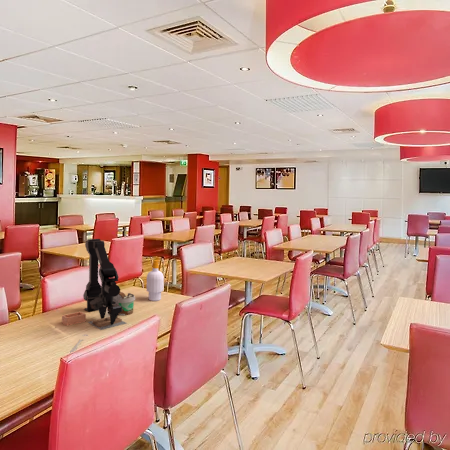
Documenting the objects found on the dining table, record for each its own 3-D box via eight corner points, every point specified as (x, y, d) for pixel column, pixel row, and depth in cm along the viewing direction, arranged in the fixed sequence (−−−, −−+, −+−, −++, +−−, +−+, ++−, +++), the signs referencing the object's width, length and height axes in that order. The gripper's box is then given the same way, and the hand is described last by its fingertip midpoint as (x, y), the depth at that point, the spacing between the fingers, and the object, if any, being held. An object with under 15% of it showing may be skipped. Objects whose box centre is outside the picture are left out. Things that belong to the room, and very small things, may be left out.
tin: (127, 307, 225) (127, 292, 224) (123, 308, 222) (123, 294, 221) (109, 302, 233) (109, 288, 232) (105, 303, 230) (105, 289, 229)
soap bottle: (157, 302, 235) (158, 262, 233) (142, 300, 239) (143, 261, 236) (166, 298, 245) (167, 259, 242) (151, 296, 248) (152, 258, 246)
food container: (129, 318, 206) (129, 300, 205) (118, 317, 207) (118, 298, 206) (138, 311, 218) (139, 293, 217) (128, 310, 219) (128, 292, 218)
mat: (87, 323, 197) (87, 322, 197) (112, 317, 207) (112, 316, 207) (101, 331, 187) (101, 329, 187) (127, 324, 197) (127, 323, 197)
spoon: (90, 337, 181) (90, 334, 180) (73, 357, 160) (73, 353, 160) (81, 337, 181) (81, 333, 180) (62, 356, 160) (62, 353, 160)
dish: (62, 324, 195) (61, 315, 194) (80, 320, 201) (80, 311, 201) (66, 327, 191) (66, 318, 190) (85, 323, 198) (85, 314, 197)
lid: (92, 323, 195) (92, 319, 195) (114, 318, 204) (114, 314, 203) (99, 327, 190) (99, 322, 190) (121, 321, 199) (121, 317, 199)
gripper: (83, 290, 196) (83, 320, 198) (101, 298, 183) (101, 331, 185) (103, 286, 204) (103, 316, 206) (123, 294, 191) (122, 325, 193)
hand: (107, 322), depth 197 cm, fingers open, 9 cm apart
